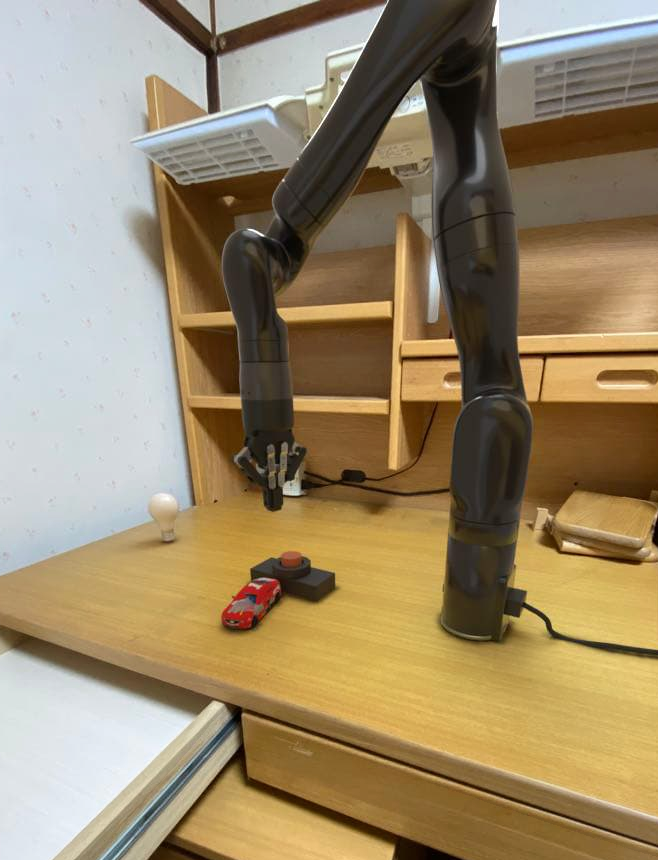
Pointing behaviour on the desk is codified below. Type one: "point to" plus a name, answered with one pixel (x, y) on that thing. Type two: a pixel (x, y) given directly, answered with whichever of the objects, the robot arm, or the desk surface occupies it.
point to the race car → (251, 603)
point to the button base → (296, 578)
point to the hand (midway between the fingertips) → (274, 509)
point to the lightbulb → (164, 513)
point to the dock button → (291, 559)
